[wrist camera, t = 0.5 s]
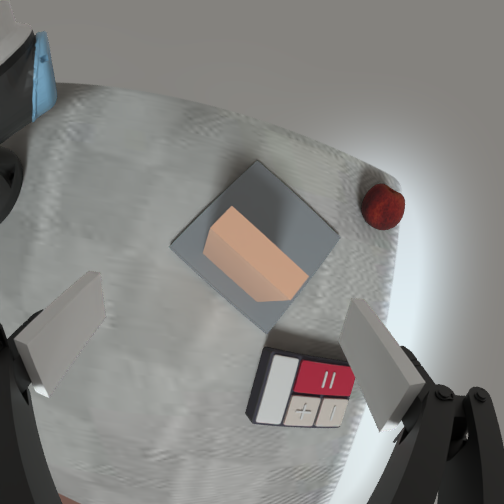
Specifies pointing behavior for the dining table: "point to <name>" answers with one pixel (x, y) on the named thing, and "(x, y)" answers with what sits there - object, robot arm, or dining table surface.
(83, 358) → the dining table surface
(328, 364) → the calculator
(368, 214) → the apple
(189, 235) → the mat
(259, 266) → the block
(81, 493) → the dining table surface
